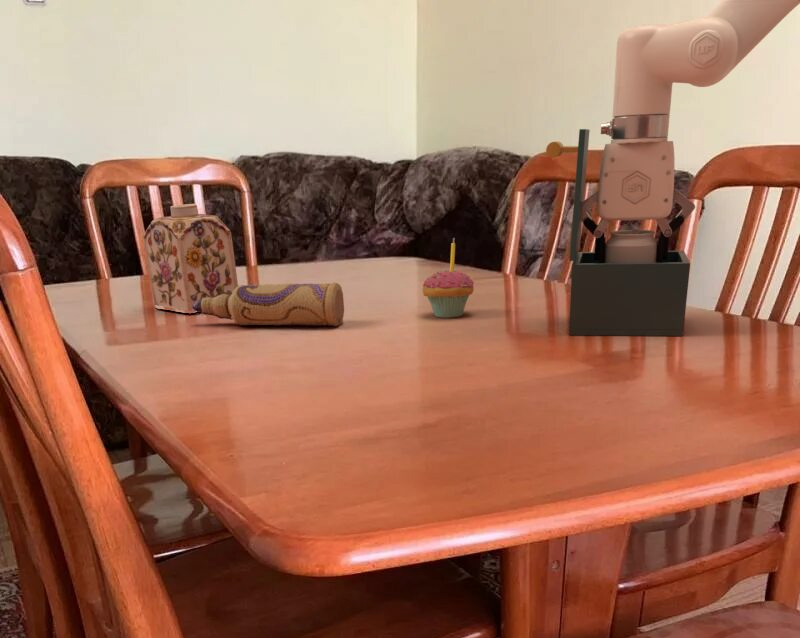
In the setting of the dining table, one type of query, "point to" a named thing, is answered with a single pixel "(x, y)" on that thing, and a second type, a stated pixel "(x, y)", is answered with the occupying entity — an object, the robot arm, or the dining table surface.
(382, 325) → the dining table surface
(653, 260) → the can
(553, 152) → the lid
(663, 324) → the chest
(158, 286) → the decorative jar
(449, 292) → the cupcake
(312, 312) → the decorative bottle
